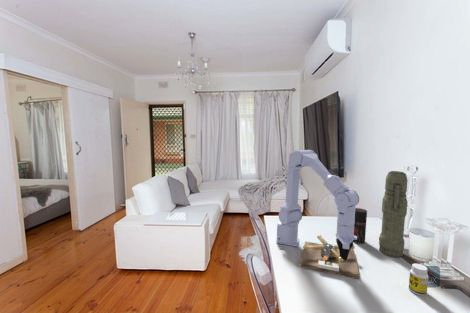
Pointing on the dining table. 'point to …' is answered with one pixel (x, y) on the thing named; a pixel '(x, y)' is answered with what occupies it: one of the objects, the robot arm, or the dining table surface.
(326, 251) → the capstan
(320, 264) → the frame
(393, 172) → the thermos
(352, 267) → the stand board
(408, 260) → the dining table surface
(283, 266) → the dining table surface
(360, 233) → the deodorant
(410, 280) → the supplement bottle
